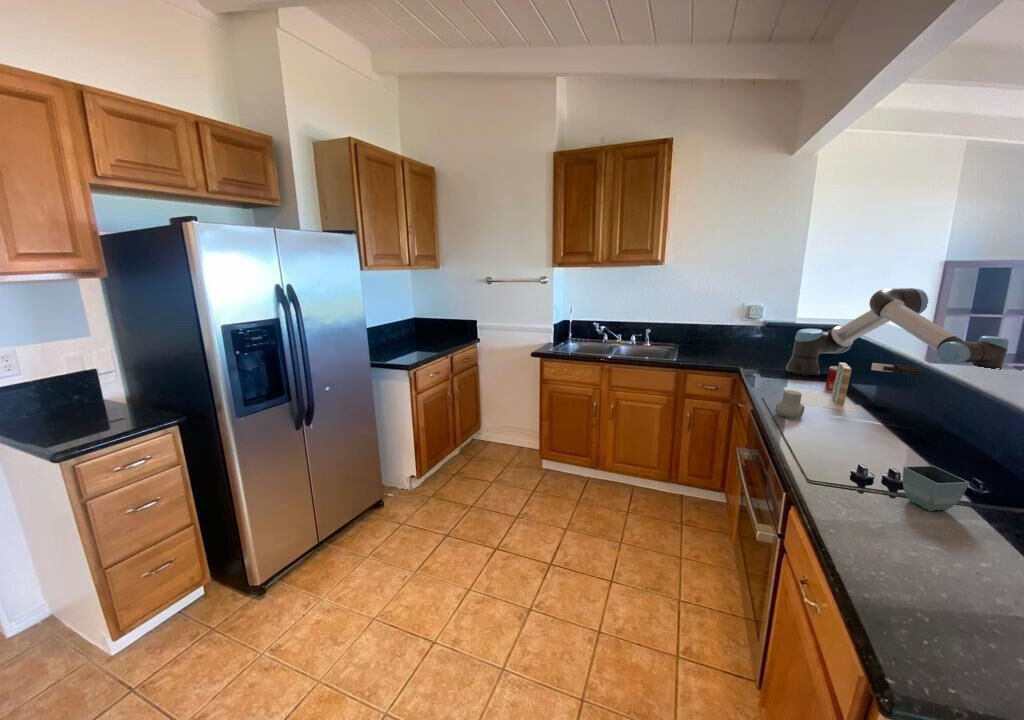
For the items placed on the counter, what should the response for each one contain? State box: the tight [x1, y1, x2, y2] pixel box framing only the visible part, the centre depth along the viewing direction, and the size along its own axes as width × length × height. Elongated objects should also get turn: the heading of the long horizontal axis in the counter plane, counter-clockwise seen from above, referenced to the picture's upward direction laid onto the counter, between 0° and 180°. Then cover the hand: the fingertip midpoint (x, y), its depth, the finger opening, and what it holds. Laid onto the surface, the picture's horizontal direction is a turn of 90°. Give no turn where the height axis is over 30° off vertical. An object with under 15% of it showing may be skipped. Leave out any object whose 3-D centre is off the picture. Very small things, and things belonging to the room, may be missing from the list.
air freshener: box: [774, 389, 805, 420], centre depth 167 cm, size 11×8×10 cm
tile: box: [831, 362, 852, 406], centre depth 183 cm, size 12×2×16 cm, turn 152°
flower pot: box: [902, 465, 970, 512], centre depth 108 cm, size 9×9×9 cm
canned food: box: [825, 365, 838, 392], centre depth 200 cm, size 8×8×11 cm
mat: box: [783, 386, 859, 413], centre depth 188 cm, size 24×24×1 cm
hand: (872, 366), depth 176 cm, fingers closed
